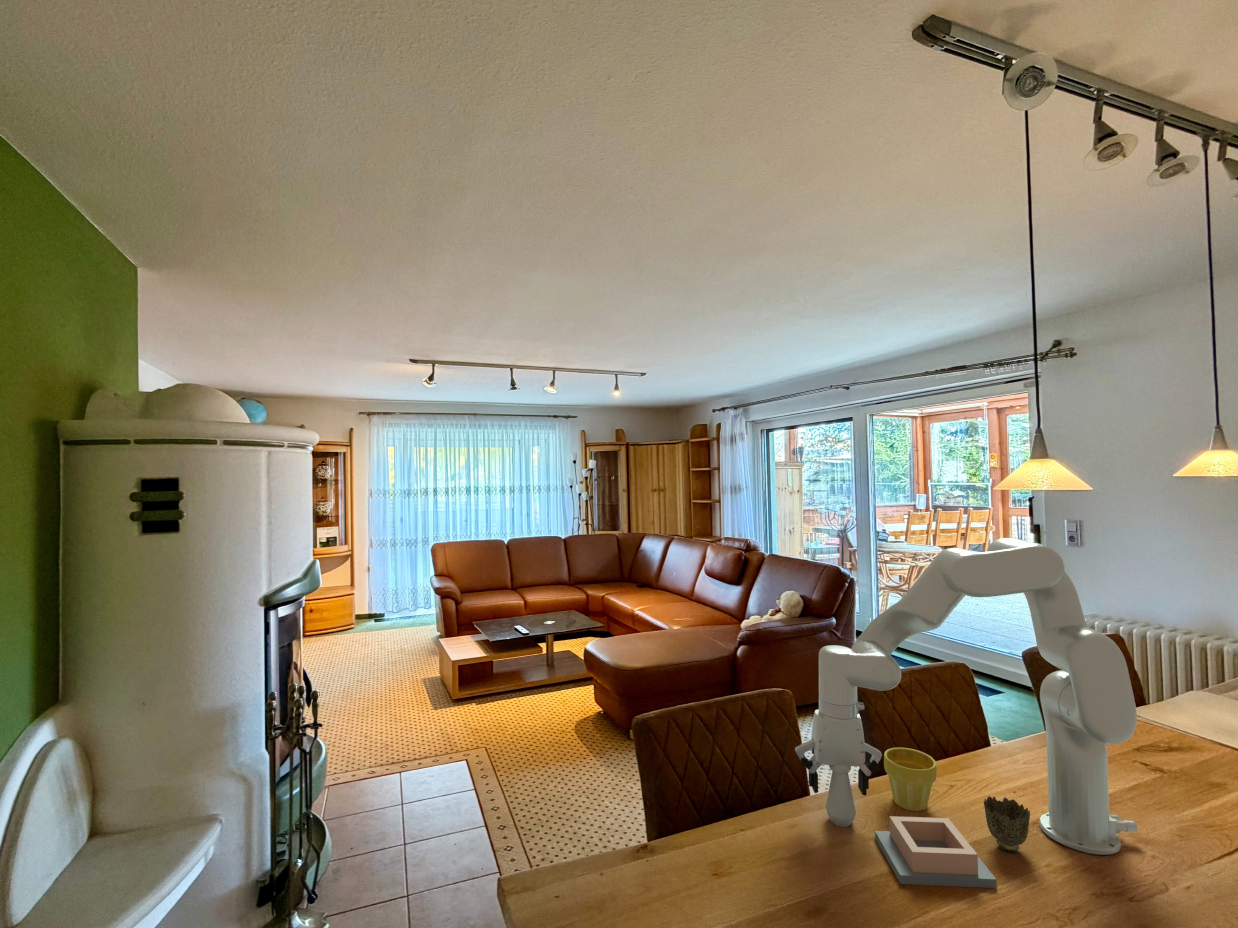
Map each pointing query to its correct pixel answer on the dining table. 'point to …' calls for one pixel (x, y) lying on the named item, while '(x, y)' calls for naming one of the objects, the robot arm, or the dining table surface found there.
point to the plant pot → (910, 777)
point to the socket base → (932, 854)
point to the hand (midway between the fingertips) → (838, 790)
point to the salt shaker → (840, 797)
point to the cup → (1007, 822)
